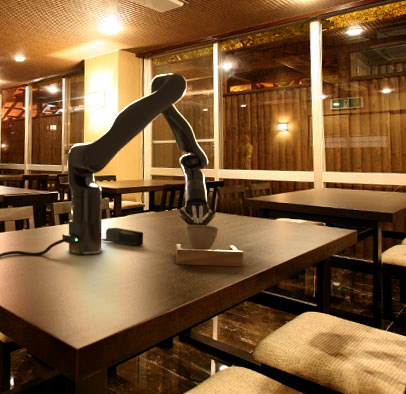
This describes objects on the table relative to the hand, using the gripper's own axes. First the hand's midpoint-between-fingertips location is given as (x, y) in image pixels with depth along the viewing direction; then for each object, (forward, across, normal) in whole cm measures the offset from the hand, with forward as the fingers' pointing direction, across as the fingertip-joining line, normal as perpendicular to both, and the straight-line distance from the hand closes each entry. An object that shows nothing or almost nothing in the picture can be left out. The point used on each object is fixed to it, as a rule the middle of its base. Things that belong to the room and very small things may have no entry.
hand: (198, 234), depth 131 cm
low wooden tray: (+17, 0, -12) cm, 21 cm away
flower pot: (+7, 0, -2) cm, 8 cm away
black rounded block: (+3, -25, +3) cm, 26 cm away
